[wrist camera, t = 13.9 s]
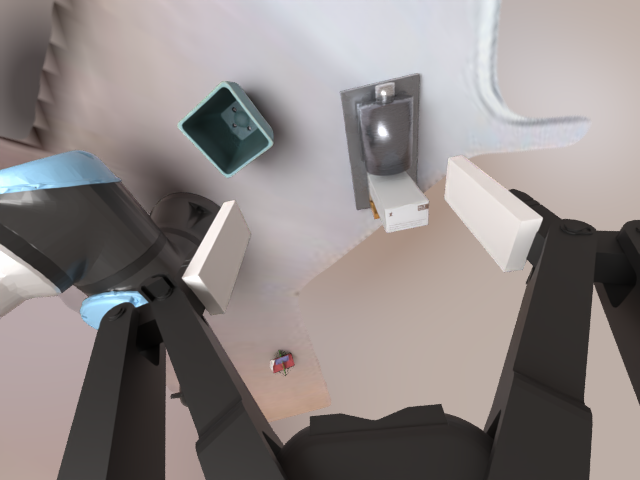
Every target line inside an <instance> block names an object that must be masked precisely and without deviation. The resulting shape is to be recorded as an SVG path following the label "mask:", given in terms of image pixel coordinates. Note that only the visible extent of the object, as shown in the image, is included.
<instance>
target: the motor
mask: <svg viewBox="0 0 640 480" xmlns="http://www.w3.org/2000/svg"><path fill="white" fill-rule="evenodd" d="M340 94H341V101H342V108H343V115H344V122H345V130H346V137H347V144H348V151H349V159H350V166H351V173H352V180H353V188H354V195H355V202H356V208H357V210H361V209H366V208H371V210H372V212H373V215H374V218H375V219H378V218H380V217H379V214H378V212H377V210H376V207H375V205H374V202H373V200H372V197H371V195H370V189H369V180H368V175H370V174H372V175H377V176H389V175H395V174H399V173H402V172H404V171H406V172H407V174H408V175H409V176H410V177H411V179H412V180H413V181H414V182H415V184H416V181H417V145H418V109H419V74H418V73H415V74H411V75H407V76H403V77H399V78H394V79H390V80H386V81H382V82H378V83H373V84H369V85H365V86H361V87H357V88H352V89H348V90H344V91H340Z"/></svg>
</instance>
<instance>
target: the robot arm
mask: <svg viewBox="0 0 640 480" xmlns="http://www.w3.org/2000/svg"><path fill="white" fill-rule="evenodd" d="M121 181H122V180H121V179H120V178H118V177H116V176H115V175H114V174H113V173H112V172H111V171H110V170H109V169H108V167H107V166H106V165H105V164H104V163H103V162H102V161H101V160H100V159H99V158H98V157H97V156H96V155H94V154H92V153H90V152H87V151H82V150H74V151H69V152H65V153H61V154H57V155H54V156H50V157H46V158H42V159H39V160H35V161H31V162H28V163H24V164H20V165H17V166H13V167H9V168H6V169H2V170H0V318H2V317H3V316H5V315H6V314H7V313H9V312H10V311H11V310H13V309H14V308H16V307H17V306H19V305H20V304H21V303H23V302H24V301H25V300H28V299H32V298H38V297H50V296H58V295H60V294H61V293H63V292H64V291H65V290H67V289H68V288H69V287H71V286H72V285H74V286H76V287H77V288H78V289H80V290H81V291H82V292H83V293H85V294H86V295H87V296H88V298H86V299H85V300H84V301H83V302H82V307H81V309H80V314H81V315H82V316H81V317H82V319H83V320H84V321H85V322H86V323H87V324H88V325H90V326H91V327H93V328H95V329H97V330H98V332H97V336H96V339H95V343H94V347H93V350H92V354H91V357H90V361H89V365H88V368H87V372H86V376H85V379H84V383H83V386H82V390H81V394H80V397H79V402H78V405H77V408H76V412H75V416H74V420H73V423H72V426H71V430H70V434H69V437H68V441H67V445H66V448H65V452H64V455H63V459H62V463H61V467H60V470H59V474H58V478H57V480H165V396H166V393H165V391H166V349H167V352H168V354H169V357H170V360H171V362H172V365H173V368H174V370H175V373H176V376H177V378H178V381H179V384H180V386H181V389H182V392H183V395H184V397H185V400H186V403H187V405H188V408H189V411H190V413H191V416H192V419H193V421H194V424H195V427H196V429H197V432H198V435H199V440H198V441H197V442H196V452H197V456H198V459H199V461H200V464H201V467H202V470H203V473H204V476H205V479H206V480H589V473H590V457H591V440H592V413H591V410H590V408H588V407H587V406H586V405H585V403H584V389H585V377H586V364H587V354H588V342H589V330H590V317H591V306H592V294H593V283H594V285H595V288H596V291H597V293H598V296H599V298H600V301H601V304H602V306H603V309H604V312H605V314H606V317H607V319H608V322H609V325H610V328H611V330H612V333H613V335H614V338H615V341H616V343H617V346H618V349H619V351H620V354H621V356H622V359H623V362H624V365H625V367H626V370H627V372H628V375H629V378H630V381H631V383H632V386H633V389H634V391H635V394H636V396H637V399H638V402H639V404H640V220H633V221H629V222H627V223H625V224H624V225H623V227H622V229H621V230H620V231H596V229H595V228H594V227H592V226H591V225H589V224H587V223H585V222H582V221H578V220H570V219H560V218H559V217H558V216H556V215H555V214H554V213H552V212H551V211H549V210H548V209H547V208H545V207H544V206H543V205H540V204H539V203H538V202H537V201H535V200H533V198H531V197H530V196H529V195H527V194H526V193H524V192H521V191H518V190H515V189H511V190H507V189H505V188H504V187H503V186H502V185H500V184H499V183H498V182H496V181H495V180H494V179H493V178H491V177H490V176H489V175H487V174H486V173H485V172H484V171H482V170H481V169H480V168H478V167H477V166H476V165H475V164H473V163H472V162H471V161H469V160H468V159H467V158H466V157H464V156H463V155H459V156H454V157H449V158H448V167H447V178H446V186H445V196H444V199H445V200H446V202H447V203H448V204H449V205H450V207H451V208H452V209H453V210H454V211H455V213H456V214H457V215H458V216H459V218H460V219H461V220H462V221H463V222H464V224H465V225H466V226H467V227H468V229H469V230H470V231H471V232H472V234H473V235H474V236H475V237H476V238H477V240H478V241H479V242H480V243H481V245H482V246H483V247H484V248H485V250H486V251H487V252H488V253H489V254H490V256H491V257H492V258H493V259H494V261H495V262H496V263H497V264H498V265H499V267H500V268H501V269H502V270H503V272H511V271H517V270H523V268H524V265H525V263H526V260H528V261H529V262H530V263H531V264H532V265H533V268H532V270H531V272H530V275H529V277H528V279H527V282H526V284H527V286H526V290H525V294H524V297H523V300H522V304H521V308H520V311H519V314H518V318H517V321H516V325H515V328H514V332H513V335H512V339H511V342H510V346H509V350H508V353H507V356H506V360H505V363H504V367H503V370H502V374H501V377H500V381H499V385H498V387H497V391H496V394H495V398H494V401H493V405H492V408H491V411H490V414H489V417H488V419H487V422H486V424H485V427H484V431H482V430H481V429H479V428H478V427H476V426H475V425H473V424H471V423H469V422H467V421H466V420H463V419H461V418H459V417H456V416H453V415H450V414H445V413H444V411H443V408H442V405H441V404H436V405H426V406H415V407H407V408H405V409H402V410H400V411H397V412H396V413H393V414H391V415H388V416H386V417H383V418H381V419H379V420H369V419H364V418H359V417H355V416H350V415H345V414H330V415H320V416H311V417H310V426H308V427H306V428H304V429H302V430H301V431H299V432H298V433H297V434H295V435H294V436H293V437H292V438H291V439H290V440H289V441H288V442H287V443H286V444H285V445H283V443H282V442H281V441H280V439H279V438H278V436H277V435H276V434H275V432H274V431H273V429H272V428H271V426H270V425H269V423H268V421H267V420H266V418H265V416H264V415H263V413H262V411H261V410H260V408H259V407H258V405H257V403H256V402H255V400H254V398H253V397H252V395H251V393H250V392H249V390H248V388H247V387H246V385H245V383H244V382H243V380H242V378H241V377H240V375H239V373H238V372H237V370H236V369H235V367H234V365H233V364H232V362H231V360H230V359H229V357H228V355H227V354H226V352H225V350H224V349H223V347H222V345H221V344H220V342H219V340H218V339H217V337H216V335H215V334H214V332H213V330H212V329H211V327H210V326H209V324H208V322H207V321H206V319H205V318H204V316H203V312H204V310H205V309H206V310H207V311H208V312H209V314H210V315H217V314H224V313H225V312H226V309H227V306H228V303H229V300H230V297H231V294H232V291H233V288H234V285H235V282H236V279H237V275H238V272H239V269H240V266H241V263H242V260H243V257H244V254H245V251H246V248H247V245H248V242H249V239H250V236H251V232H250V230H249V228H248V226H247V224H246V222H245V220H244V217H243V215H242V213H241V211H240V209H239V207H238V205H237V202H236V200H233V201H228V202H224V203H223V205H222V207H221V208H220V207H219V206H218V205H216V204H215V203H213V202H212V201H210V200H208V199H206V198H204V197H202V196H199V195H195V194H190V193H175V194H171V195H168V196H166V197H164V198H163V199H161V200H160V201H159V202H158V203H157V204H156V206H155V207H154V208H153V209H152V211H151V213H150V216H149V215H148V214H147V213H146V211H145V210H144V209H143V208H142V207H141V205H140V204H139V203H138V202H137V201H136V199H135V198H134V197H133V196H132V194H131V193H130V192H129V191H128V190H127V188H126V187H125V186H124V185H123V184H122V182H121Z"/></svg>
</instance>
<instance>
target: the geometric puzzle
mask: <svg viewBox="0 0 640 480" xmlns="http://www.w3.org/2000/svg"><path fill="white" fill-rule="evenodd" d="M284 352H285V351H284ZM284 352H283V353H284ZM279 353H280V351H279ZM285 354H286V353H285ZM275 355H276V354H275ZM276 357H277V356H276ZM292 366H294V361H293V358H292V355H291V353H290V354H286V355H285V356H284V355H283V356H282V357H281V354H280V357H278V358H275V359H273V360H272V359H271V360H270V368H271V370H272V371H273V373H276V372H280V371H281V370H282V371H283V369H284V371H285V370H286V368H287V369H289V368H290V367H292ZM288 367H289V368H288ZM287 372H288V371H287ZM283 375H284V374H283ZM285 375H287V374H286V372H285Z"/></svg>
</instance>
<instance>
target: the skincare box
mask: <svg viewBox="0 0 640 480" xmlns="http://www.w3.org/2000/svg"><path fill="white" fill-rule="evenodd" d="M368 180H369V189H370V195H371V197H372V200H373V202H374V205H375V207H376V210H377V212H378V214H379V217H380V219H381V222H382V224H383V226H384V229H385V231H386V233H390V232H395V231H400V230H405V229H409V228H415V227H419V226H425V225H428V215H429V200H428V199H427V198H426V196H425V195H424V194H423V192H422V191H421V190H420V189H419V187H418V186H417V185H416V184H415V182H414V181H413V180H412V179H411V177H410V176H409V175H408V174H407V172H406V171H404V172H402V173H399V174H395V175H389V176H377V175H372V174H370V175H368Z"/></svg>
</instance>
